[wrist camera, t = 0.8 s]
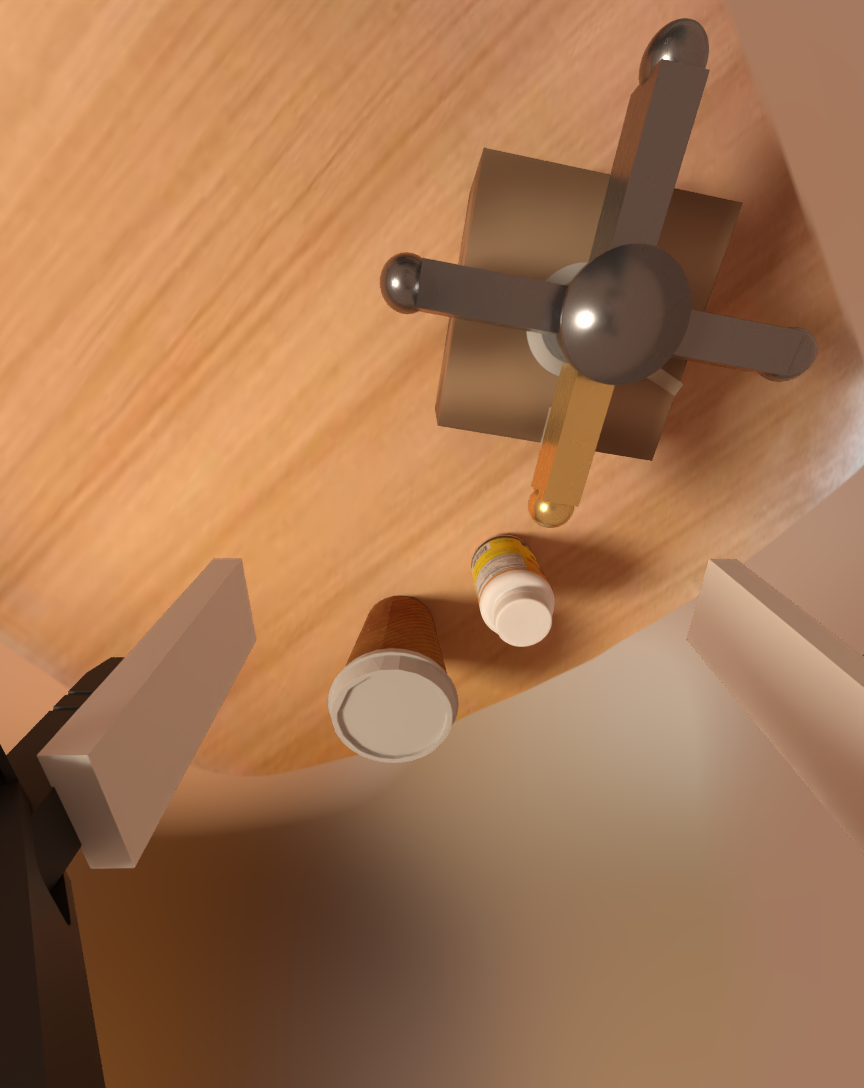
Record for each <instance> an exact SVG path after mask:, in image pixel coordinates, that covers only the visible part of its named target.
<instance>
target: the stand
mask: <svg viewBox="0 0 864 1088" xmlns="http://www.w3.org/2000/svg"><path fill="white" fill-rule="evenodd" d="M609 179H610V175H609V174H604V173H600V172H595V171H590V170H586V169H581V168H576V167H572V166H567V165H562V164H557V163H553V162H548V161H543V160H539V159H534V158H529V157H525V156H520V155H515V154H510V153H506V152H501V151H496V150H492V149H487V148H484V149H483V153H482V156H481V159H480V162H479V165H478V168H477V172H476V175H475V178H474V181H473V184H472V187H471V191H470V195H469V201H468V207H467V213H466V220H465V226H464V232H463V238H462V244H461V251H460V257H459V263H458V265H462V266H467V267H472V268H478V269H483V270H488V271H493V272H498V273H504V274H509V275H514V276H519V277H524V278H530V279H535V280H540V281H545V282H550V283H556V284H561V285H565V284H567V283H569V282H571V281H572V280H573V279H574V277H575V276H576V274H577V273H578V272H579V271H580V270H581V269H582V268H583V267H584V266H585V265H586V264H587V263H588V261H589V257H590V253H591V250H592V246H593V242H594V238H595V234H596V230H597V226H598V222H599V218H600V214H601V210H602V206H603V202H604V199H605V195H606V191H607V187H608V183H609ZM741 206H742V203H741V202H736V201H731V200H727V199H722V198H717V197H713V196H708V195H703V194H698V193H694V192H689V191H684V190H680V189H675V188H674V190H673V194H672V197H671V200H670V204H669V207H668V210H667V214H666V217H665V220H664V224H663V227H662V230H661V233H660V237H659V240H658V243H657V247H658V248H660V249H662V250H664V251H666V252H667V253H668V254H670V255H671V256H672V257H673V258H674V259H675V260H676V261H677V262H678V263H679V265H680V266H681V267H682V269H683V271H684V273H685V275H686V277H687V280H688V283H689V287H690V292H691V310H696V311H701V312H704V311H705V309H706V306H707V303H708V300H709V297H710V294H711V292H712V289H713V286H714V283H715V280H716V277H717V274H718V272H719V269H720V266H721V263H722V260H723V257H724V254H725V252H726V249H727V246H728V243H729V240H730V237H731V235H732V232H733V229H734V226H735V223H736V220H737V217H738V215H739V212H740V209H741ZM562 363H564V362H562V361H560V360H558V359H557V358H555V357H554V356H553V355H552V354H551V353H550V352H549V351H548V349H547V348H546V346H545V344H544V341H543V338H542V334H540V333H535V332H529V331H524V330H518V329H513V328H508V327H502V326H497V325H491V324H486V323H480V322H475V321H469V320H464V319H458V318H453V317H450V319H449V325H448V331H447V337H446V343H445V350H444V356H443V362H442V368H441V374H440V381H439V387H438V393H437V399H436V405H435V411H436V417H437V423H438V426H444V427H450V428H456V429H462V430H468V431H474V432H480V433H486V434H492V435H498V436H504V437H511V438H517V439H523V440H529V441H535V442H541V444H540V446H542V442H543V438H544V434H545V430H546V426H547V422H548V418H549V414H550V410H551V406H552V403H553V399H554V395H555V391H556V387H557V383H558V379H559V375H560V371H561V367H562ZM686 363H687V360H682V359H677V358H670V359H669V360H668V362H667V363H666V364H664V365H663V366H662V367H661V368H660V369H659V370H657V371H656V372H655V373H653V374H652V375H650V376H648V377H647V378H645V379H642V380H640V381H638V382H634V383H631V384H626V385H615V386H614V390H613V393H612V396H611V400H610V403H609V406H608V410H607V413H606V416H605V420H604V423H603V426H602V430H601V433H600V436H599V440H598V443H597V446H596V450H595V451H596V452H602V453H608V454H614V455H620V456H626V457H632V458H638V459H644V460H650V461H652V460H653V457H654V454H655V451H656V448H657V445H658V442H659V440H660V437H661V434H662V431H663V428H664V425H665V422H666V420H667V417H668V414H669V411H670V408H671V405H672V403H673V400H674V397H675V395H676V394H677V393H678V391H679V390H680V389H681V387H682V386H683V383H682V382H680V380H681V377H682V374H683V371H684V368H685V366H686Z"/></svg>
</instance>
